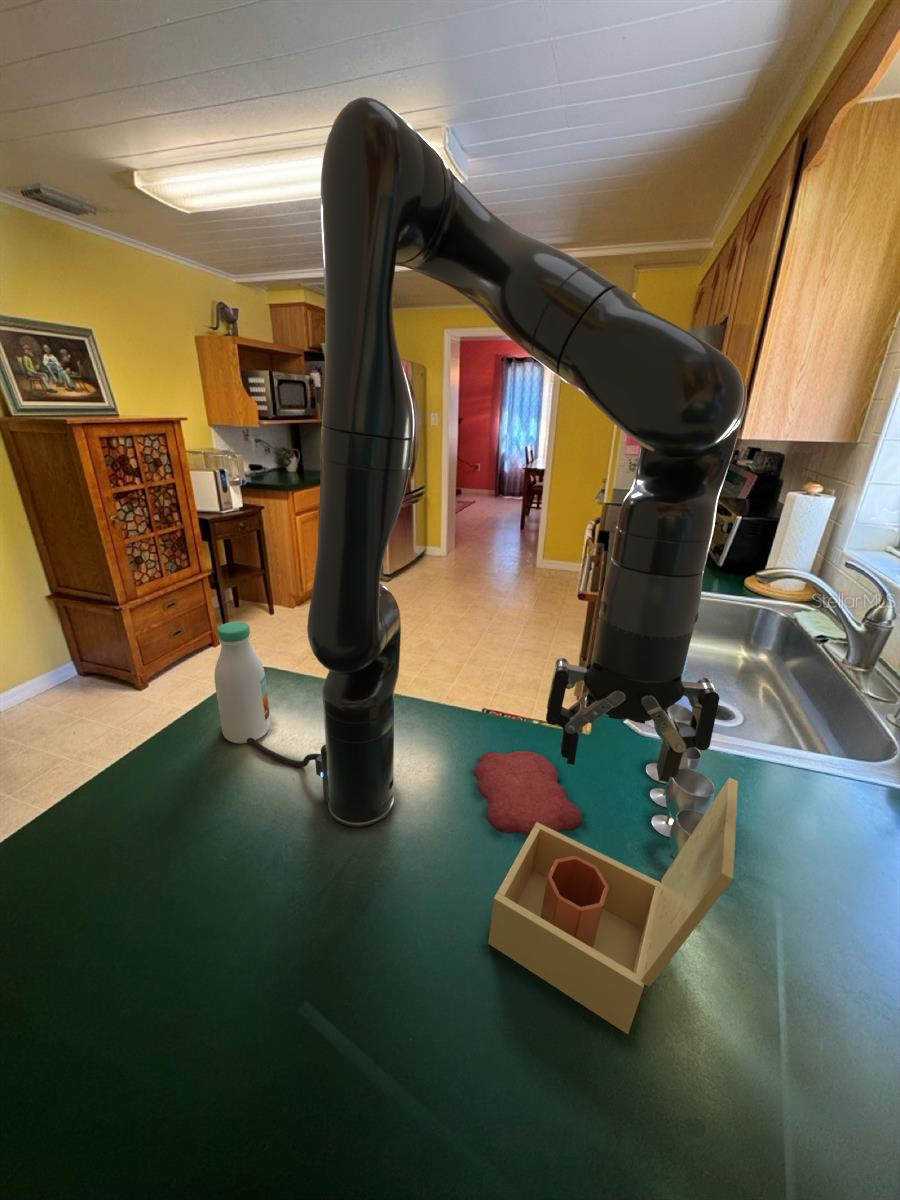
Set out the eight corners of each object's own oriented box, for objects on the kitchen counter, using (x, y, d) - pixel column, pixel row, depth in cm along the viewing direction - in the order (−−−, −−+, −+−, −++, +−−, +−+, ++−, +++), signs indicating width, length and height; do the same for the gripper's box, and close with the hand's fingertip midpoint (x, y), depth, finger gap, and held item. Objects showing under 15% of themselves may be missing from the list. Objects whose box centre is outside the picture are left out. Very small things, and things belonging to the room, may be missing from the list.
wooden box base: (487, 947, 51) (493, 898, 48) (529, 867, 60) (536, 821, 57) (626, 1039, 44) (643, 987, 41) (649, 932, 53) (664, 884, 50)
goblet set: (701, 924, 54) (733, 840, 49) (648, 906, 56) (674, 823, 51) (678, 766, 79) (697, 699, 74) (641, 757, 81) (658, 691, 76)
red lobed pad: (591, 835, 65) (593, 825, 64) (494, 848, 62) (495, 836, 62) (544, 751, 81) (546, 741, 80) (466, 758, 78) (467, 748, 77)
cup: (532, 940, 51) (541, 888, 48) (551, 897, 56) (560, 848, 53) (585, 973, 48) (598, 920, 45) (600, 925, 53) (613, 874, 50)
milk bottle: (260, 745, 78) (247, 638, 71) (214, 743, 78) (196, 636, 71) (277, 717, 86) (266, 617, 78) (234, 715, 86) (220, 615, 78)
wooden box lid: (721, 872, 34) (733, 879, 34) (729, 776, 43) (738, 781, 43) (640, 981, 41) (649, 987, 41) (661, 878, 50) (669, 883, 50)
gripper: (724, 608, 42) (685, 756, 48) (561, 590, 45) (543, 731, 51) (753, 645, 35) (703, 812, 41) (559, 620, 38) (538, 779, 44)
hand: (614, 767), depth 46 cm, fingers open, 8 cm apart
